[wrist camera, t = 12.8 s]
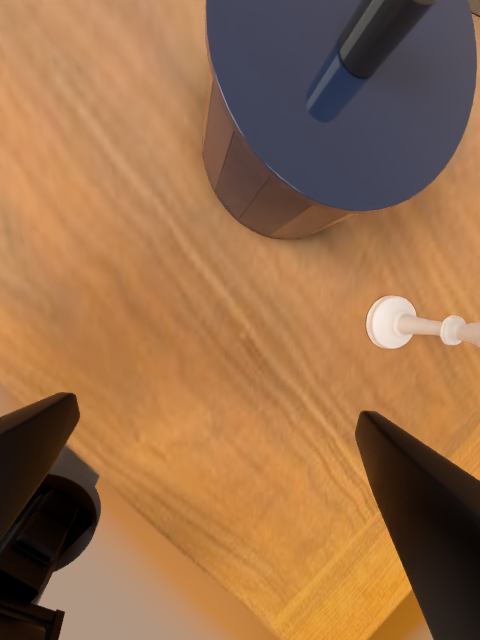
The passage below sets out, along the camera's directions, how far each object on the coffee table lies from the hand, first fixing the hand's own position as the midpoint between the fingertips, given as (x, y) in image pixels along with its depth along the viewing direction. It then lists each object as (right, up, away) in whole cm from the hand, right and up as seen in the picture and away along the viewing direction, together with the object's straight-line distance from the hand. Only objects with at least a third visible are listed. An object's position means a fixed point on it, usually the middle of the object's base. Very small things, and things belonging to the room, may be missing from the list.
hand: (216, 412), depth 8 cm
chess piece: (+15, +3, +15) cm, 21 cm away
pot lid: (+6, +15, +4) cm, 16 cm away
